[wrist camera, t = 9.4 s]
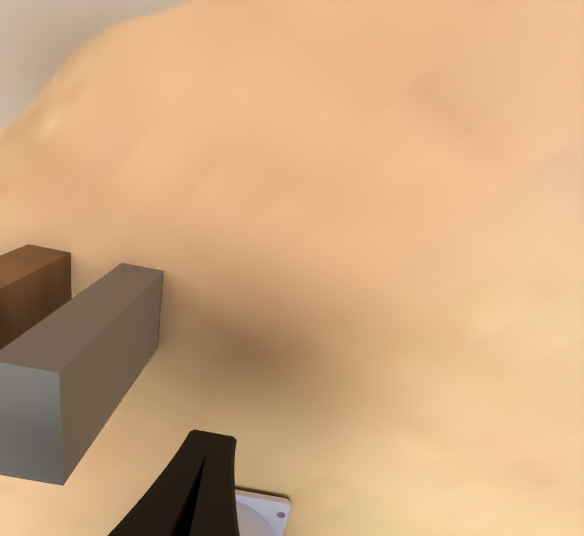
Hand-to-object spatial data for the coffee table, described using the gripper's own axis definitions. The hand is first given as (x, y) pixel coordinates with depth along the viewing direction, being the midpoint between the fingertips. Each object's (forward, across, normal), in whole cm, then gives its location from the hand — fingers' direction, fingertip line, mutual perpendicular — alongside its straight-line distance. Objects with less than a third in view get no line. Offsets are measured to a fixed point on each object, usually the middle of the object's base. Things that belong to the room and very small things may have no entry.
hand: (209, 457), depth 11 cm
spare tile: (+8, +6, 0) cm, 10 cm away
